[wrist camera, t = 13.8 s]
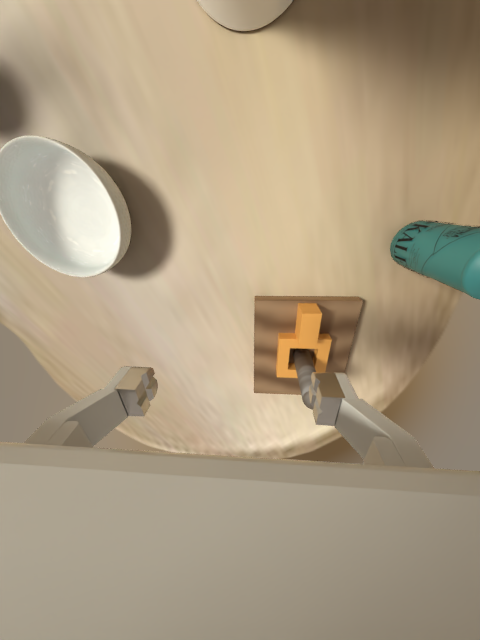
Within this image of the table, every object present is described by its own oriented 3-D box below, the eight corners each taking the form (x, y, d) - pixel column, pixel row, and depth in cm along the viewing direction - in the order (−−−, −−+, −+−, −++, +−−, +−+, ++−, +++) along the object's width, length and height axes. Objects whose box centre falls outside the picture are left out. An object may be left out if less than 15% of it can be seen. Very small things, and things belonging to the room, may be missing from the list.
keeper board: (254, 296, 40) (252, 341, 27) (358, 296, 38) (408, 344, 25) (254, 386, 50) (252, 449, 37) (335, 389, 49) (363, 456, 36)
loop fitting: (280, 303, 38) (282, 313, 34) (334, 303, 37) (342, 313, 34) (276, 370, 45) (277, 384, 41) (321, 371, 44) (326, 386, 41)
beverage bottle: (434, 248, 34) (625, 299, 16) (389, 271, 36) (514, 337, 18) (424, 208, 31) (634, 217, 14) (376, 235, 33) (506, 271, 16)
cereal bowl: (16, 189, 34) (-37, 186, 28) (88, 119, 30) (43, 97, 23) (96, 282, 41) (67, 296, 35) (165, 237, 36) (146, 244, 30)
